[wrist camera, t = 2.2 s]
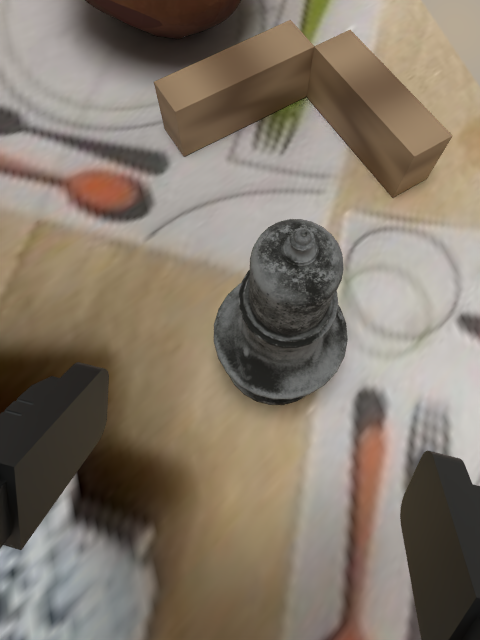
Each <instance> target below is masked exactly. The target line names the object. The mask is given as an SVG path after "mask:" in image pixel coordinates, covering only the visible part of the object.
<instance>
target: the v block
mask: <svg viewBox="0 0 480 640" xmlns="http://www.w3.org/2000/svg"><path fill="white" fill-rule="evenodd" d="M154 85H155V89H156V93H157V98H158V102H159V106H160V110H161V115H162V119H163V123H164V128H165V130H166V131H167V133H168V134H169V136H170V137H171V139H172V140H173V142H174V143H175V144H176V146H177V147H178V149H179V150H180V152H181V153H182V155H183V156H186V155H188V154H191V153H193V152H195V151H197V150H199V149H201V148H203V147H205V146H207V145H209V144H211V143H213V142H215V141H217V140H219V139H221V138H223V137H225V136H227V135H229V134H231V133H233V132H235V131H237V130H239V129H241V128H244V127H246V126H248V125H250V124H252V123H254V122H256V121H258V120H260V119H262V118H264V117H266V116H268V115H270V114H272V113H274V112H276V111H278V110H280V109H282V108H284V107H286V106H288V105H290V104H292V103H294V102H296V101H299V100H301V99H303V98H305V97H307V98H308V99H309V100H310V101H311V102H312V104H313V105H314V106H315V107H316V108H317V109H318V111H319V112H320V113H321V114H322V115H323V116H324V118H325V119H326V120H327V121H328V122H329V123H330V125H331V126H332V127H333V128H334V129H335V131H336V132H337V133H338V134H339V135H340V136H341V138H342V139H343V140H344V141H345V142H346V143H347V145H348V146H349V147H350V148H351V149H352V150H353V152H354V153H355V154H356V155H357V156H358V157H359V159H360V160H361V161H362V162H363V163H364V164H365V166H366V167H367V168H368V169H369V170H370V171H371V173H372V174H373V175H374V176H375V177H376V178H377V180H378V181H379V182H380V183H381V184H382V185H383V187H384V188H385V189H386V190H387V191H388V192H389V194H390V195H391V196H392V197H395V196H397V195H399V194H400V193H402V192H404V191H406V190H408V189H409V188H411V187H413V186H415V185H416V184H418V183H420V182H422V181H424V180H425V179H427V177H428V176H429V174H430V172H431V171H432V169H433V168H434V166H435V164H436V163H437V161H438V159H439V158H440V156H441V154H442V153H443V151H444V149H445V148H446V146H447V144H448V143H449V141H450V139H451V138H452V135H451V134H450V132H449V131H448V130H447V129H446V128H445V127H444V126H443V125H442V124H441V123H440V122H439V121H438V120H437V119H436V118H435V117H434V116H433V115H432V114H431V113H430V112H429V111H428V110H427V109H426V108H425V107H424V106H423V105H422V103H421V102H420V101H419V100H418V99H417V98H416V97H415V96H414V95H413V94H412V93H411V92H410V91H409V90H408V89H407V88H406V87H405V86H404V85H403V84H402V83H401V82H400V81H399V80H398V79H397V78H396V77H395V76H394V75H393V73H392V72H391V71H390V70H389V69H388V68H387V67H386V66H385V65H384V64H383V63H382V62H381V61H380V60H379V59H378V58H377V57H376V56H375V55H374V54H373V53H372V52H371V51H370V50H369V49H368V48H367V47H366V46H365V44H364V43H363V42H362V41H361V40H360V39H359V38H358V37H357V36H356V35H355V34H354V33H353V32H352V31H351V30H348V31H346V32H344V33H342V34H340V35H338V36H336V37H334V38H331V39H329V40H327V41H325V42H323V43H321V44H319V45H316V46H314V45H313V44H312V43H311V42H310V41H309V40H308V39H307V38H306V37H305V35H304V34H303V33H302V32H301V31H300V30H299V29H298V28H297V27H296V26H295V25H294V23H293V22H292V21H291V20H289V21H287V22H285V23H283V24H280V25H278V26H276V27H274V28H271V29H269V30H267V31H265V32H263V33H260V34H258V35H256V36H254V37H252V38H249V39H247V40H245V41H243V42H241V43H238V44H236V45H234V46H232V47H230V48H227V49H225V50H223V51H221V52H219V53H216V54H214V55H212V56H210V57H208V58H205V59H203V60H201V61H199V62H197V63H194V64H192V65H190V66H188V67H185V68H183V69H181V70H179V71H177V72H174V73H172V74H170V75H168V76H166V77H163V78H161V79H159V80H157V81H155V82H154Z"/></svg>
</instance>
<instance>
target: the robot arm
mask: <svg viewBox="0 0 480 640" xmlns="http://www.w3.org/2000/svg"><path fill="white" fill-rule="evenodd" d="M108 381H109V375H108V371H107V370H106V369H103V368H99V367H95V366H91V365H87V364H83V363H79V362H78V363H75V364H74V365H73V366H72V367H71V368H70V369H69V370H68V371H67V372H66V373H65V374H64V375H63V376H62V377H61V378H57V377H53V376H51V377H49V378H47V379H45V380H43V381H40V382H38V383H36V384H34V385H32V386H31V387H30V388H28V389H27V390H26V391H25V392H24V393H23V394H22V395H21V396H20V397H18V398H17V401H14V402H13V403H12V404H11V405H10V406H9V407H7V408H6V409H5V412H2V413H1V414H0V548H1V547H2V545H6V546H9V547H12V548H16V549H19V550H22V548H23V547H24V545H25V544H26V543H27V541H28V540H29V538H30V537H31V536H32V534H33V533H34V531H35V530H36V529H37V527H38V526H39V524H40V523H41V522H42V520H43V519H44V517H45V516H46V514H47V513H48V512H49V510H50V509H51V507H52V506H53V505H54V503H55V502H56V500H57V499H58V498H59V496H60V495H61V493H62V492H63V491H64V489H65V488H66V486H67V485H68V484H69V482H70V481H71V479H72V478H73V477H74V475H75V474H76V472H77V471H78V470H79V468H80V467H81V465H82V464H83V462H84V461H85V460H86V458H87V457H88V455H89V454H90V453H91V451H92V450H93V448H94V447H95V446H96V444H97V443H98V441H99V440H100V438H101V436H102V434H103V431H104V429H105V425H106V421H107V406H108ZM400 519H401V527H402V533H403V538H404V544H405V550H406V555H407V561H408V567H409V572H410V578H411V584H412V589H413V595H414V601H415V606H416V612H417V618H418V623H419V629H420V635H421V640H480V486H477V485H473V484H472V482H471V480H470V477H469V475H468V472H467V470H466V467H465V464H464V462H463V461H462V460H461V459H459V458H455V457H451V456H447V455H443V454H439V453H435V452H431V451H426V452H425V453H424V454H423V455H422V457H421V459H420V462H419V464H418V466H417V468H416V470H415V472H414V475H413V477H412V479H411V481H410V483H409V486H408V488H407V490H406V492H405V494H404V497H403V500H402V504H401V513H400Z"/></svg>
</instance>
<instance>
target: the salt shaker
mask: <svg viewBox="0 0 480 640" xmlns="http://www.w3.org/2000/svg"><path fill="white" fill-rule="evenodd" d="M342 274H343V257H342V252H341V249H340V247H339V244H338V243H337V241H336V240H335V238H334V237H333V236H332V234H331V233H329V232H328V231H327V230H326V229H324V228H323V227H322V226H320V225H318V224H315V223H313V222H311V221H306V220H302V219H289V220H285V221H281V222H278V223H276V224H274V225H272V226H270V227H268V228H267V229H266V230H265V231H264V232H263V233H262V234H261V235H260V237H259V238H258V240H257V242H256V243H255V245H254V247H253V250H252V253H251V257H250V270H249V271H248V272H247V274H246V276H245V277H244V279H243V281H242V283H240V284H239V285H238V286H237V287H236V288H234V289H233V290H232V291H231V292H230V293H229V294H228V295H227V296H226V298H225V300H224V301H223V303H222V304H221V306H220V308H219V310H218V313H217V316H216V320H215V323H214V344H215V348H216V351H217V355H218V359H219V360H220V362H221V364H222V365H223V367H224V369H225V371H226V372H227V374H228V375H229V376H230V378H231V380H232V381H233V383H234V385H235V386H236V387H237V388H238V389H239V390H240V391H241V392H242V393H243V394H244V395H246V396H248V397H250V398H252V399H253V400H255V401H257V402H261V403H265V404H269V405H285V404H288V403H292V402H295V401H298V400H300V399H301V398H303V397H305V396H306V395H308V394H310V393H312V392H314V391H315V390H317V389H319V388H320V387H322V386H324V385H325V384H326V383H327V382H328V381H329V380H330V378H331V377H332V376H333V375H334V374H335V373H336V372H337V370H338V368H339V366H340V364H341V362H342V360H343V358H344V356H345V351H346V346H347V340H348V339H347V329H346V322H345V319H344V317H343V314H342V311H341V309H340V307H339V305H338V297H337V291H336V290H337V288H338V286H339V284H340V282H341V279H342Z"/></svg>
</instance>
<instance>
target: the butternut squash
mask: <svg viewBox="0 0 480 640" xmlns="http://www.w3.org/2000/svg"><path fill="white" fill-rule="evenodd" d="M85 1H87V2H88V3H89V4H90V5H92V6H93V7H95V8H97V9H98V10H100V11H102V12H104V13H106V14H108V15H110V16H112V17H114V18H116V19H118V20H120V21H122V22H124V23H126V24H128V25H130V26H133V27H135V28H138V29H140V30H143V31H145V32H148V33H150V34H153V35H155V36H160V37H168V38H175V39H181V38H183V37H184V36H188V35H191V34H195V33H198V32H201V31H204V30H206V29H209V28H211V27H213V26H215V25H217V24H219V23H221V22H223V21H224V20H226V19H227V18H228V17H229V16H230V15H231V14H232V13H233V12H234V11H235V9H236V8H237V6H238V5H239V3H240V1H241V0H85Z"/></svg>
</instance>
